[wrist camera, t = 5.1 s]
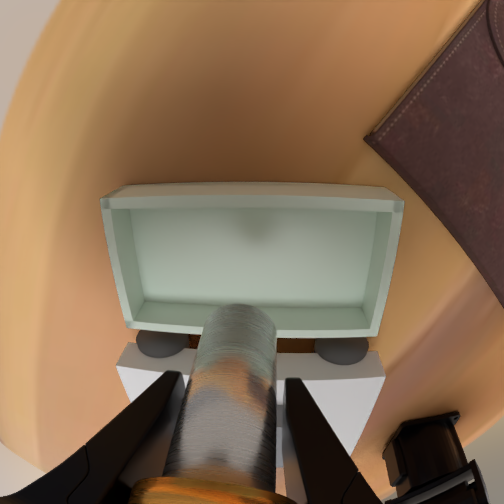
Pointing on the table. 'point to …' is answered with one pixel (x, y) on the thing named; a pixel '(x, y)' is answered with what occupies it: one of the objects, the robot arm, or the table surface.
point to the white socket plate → (288, 365)
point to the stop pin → (224, 418)
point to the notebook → (458, 139)
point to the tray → (254, 254)
